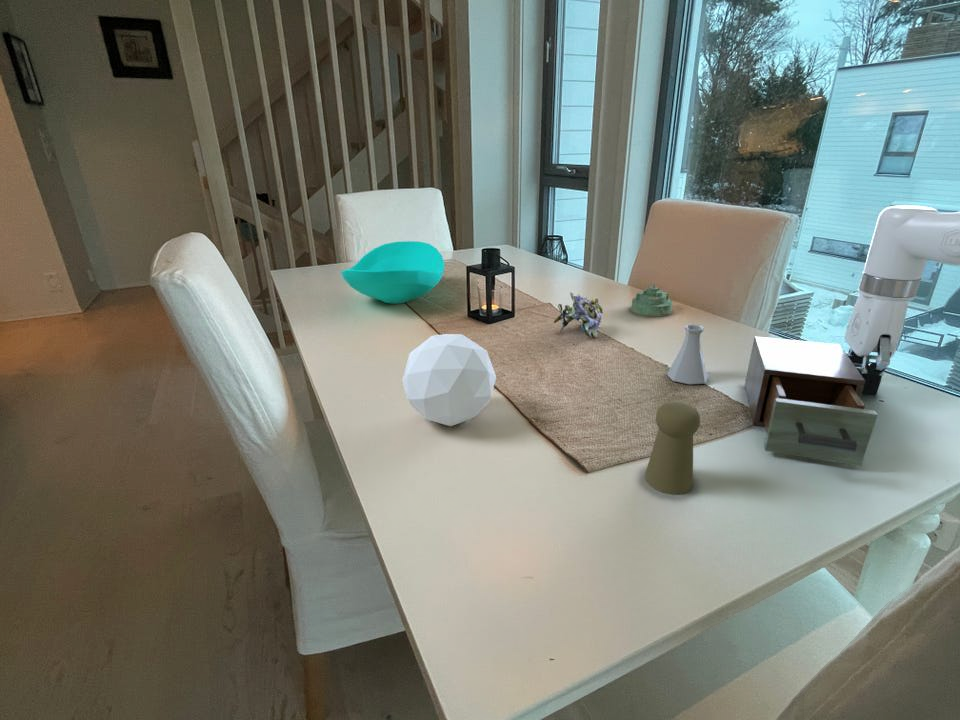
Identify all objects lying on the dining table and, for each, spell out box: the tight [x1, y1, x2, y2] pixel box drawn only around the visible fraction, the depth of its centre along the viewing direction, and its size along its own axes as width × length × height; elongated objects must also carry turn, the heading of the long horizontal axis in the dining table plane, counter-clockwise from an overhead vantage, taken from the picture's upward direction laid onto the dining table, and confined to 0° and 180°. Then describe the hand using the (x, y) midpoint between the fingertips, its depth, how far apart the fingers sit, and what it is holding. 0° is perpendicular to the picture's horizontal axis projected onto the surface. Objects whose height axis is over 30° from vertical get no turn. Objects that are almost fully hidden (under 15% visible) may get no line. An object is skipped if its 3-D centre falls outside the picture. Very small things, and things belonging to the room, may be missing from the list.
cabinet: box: [744, 335, 865, 428], centre depth 82 cm, size 15×13×10 cm
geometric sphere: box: [401, 333, 497, 427], centre depth 81 cm, size 14×15×15 cm
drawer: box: [762, 375, 878, 467], centre depth 72 cm, size 18×11×8 cm, turn 159°
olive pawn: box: [644, 400, 701, 495], centre depth 65 cm, size 6×6×11 cm
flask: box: [666, 323, 708, 385], centre depth 94 cm, size 7×7×10 cm
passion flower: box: [553, 292, 604, 338], centre depth 117 cm, size 11×11×12 cm
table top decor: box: [340, 240, 446, 304], centre depth 145 cm, size 40×28×13 cm
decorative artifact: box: [630, 283, 674, 317], centre depth 132 cm, size 10×7×10 cm
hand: (858, 384), depth 90 cm, fingers open, 6 cm apart
